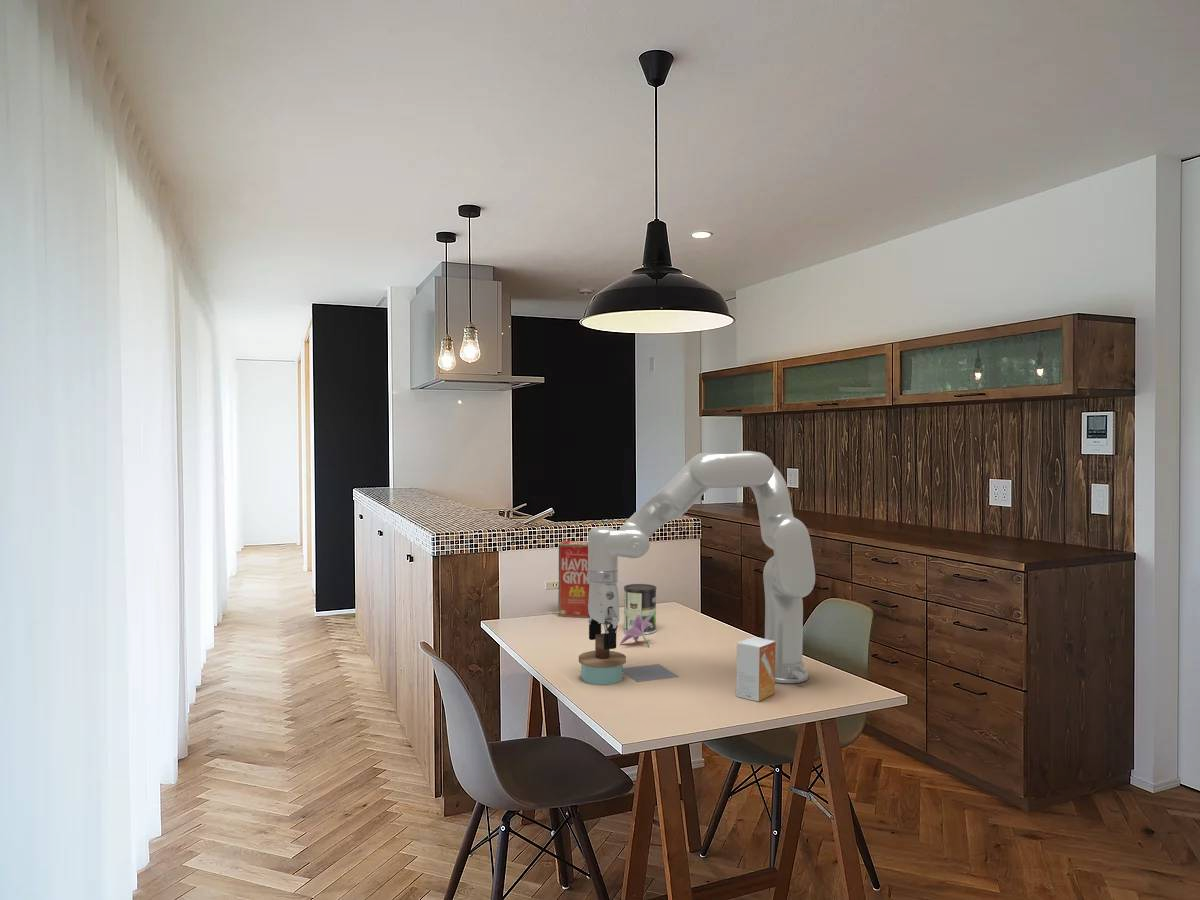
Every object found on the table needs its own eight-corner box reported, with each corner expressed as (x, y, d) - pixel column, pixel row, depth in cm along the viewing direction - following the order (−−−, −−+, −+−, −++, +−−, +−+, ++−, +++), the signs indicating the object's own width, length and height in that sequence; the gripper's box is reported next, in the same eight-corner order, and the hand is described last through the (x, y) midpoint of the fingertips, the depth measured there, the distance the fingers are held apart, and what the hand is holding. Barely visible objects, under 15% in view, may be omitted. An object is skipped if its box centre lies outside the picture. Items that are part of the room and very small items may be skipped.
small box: (759, 702, 187) (759, 647, 187) (735, 696, 191) (736, 642, 191) (775, 694, 193) (776, 640, 193) (752, 688, 197) (753, 636, 197)
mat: (679, 678, 205) (679, 676, 204) (637, 684, 200) (637, 681, 200) (658, 666, 216) (658, 663, 216) (617, 670, 211) (617, 668, 211)
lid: (633, 664, 199) (633, 638, 199) (589, 669, 195) (589, 643, 195) (614, 652, 210) (614, 627, 210) (571, 657, 206) (572, 631, 206)
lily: (657, 643, 243) (644, 614, 245) (670, 637, 232) (656, 606, 235) (623, 659, 239) (610, 629, 241) (634, 654, 228) (620, 622, 230)
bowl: (628, 684, 200) (628, 664, 200) (590, 688, 196) (591, 668, 196) (612, 672, 209) (612, 653, 209) (576, 676, 206) (576, 657, 205)
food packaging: (557, 616, 273) (557, 543, 272) (562, 610, 282) (562, 540, 281) (596, 618, 271) (596, 544, 270) (599, 612, 280) (600, 541, 280)
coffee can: (655, 627, 259) (655, 583, 259) (656, 635, 249) (657, 589, 249) (623, 626, 260) (623, 583, 259) (623, 634, 249) (624, 589, 249)
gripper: (630, 581, 196) (630, 651, 196) (603, 570, 212) (602, 634, 212) (602, 583, 193) (601, 654, 193) (576, 571, 209) (576, 637, 209)
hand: (602, 643), depth 203 cm, fingers open, 9 cm apart
